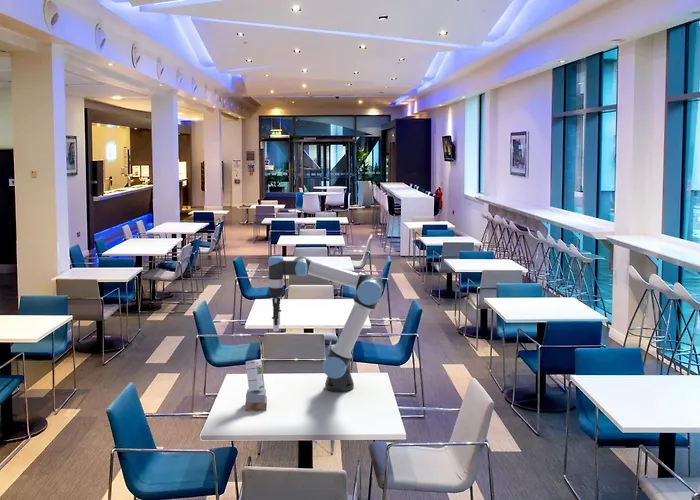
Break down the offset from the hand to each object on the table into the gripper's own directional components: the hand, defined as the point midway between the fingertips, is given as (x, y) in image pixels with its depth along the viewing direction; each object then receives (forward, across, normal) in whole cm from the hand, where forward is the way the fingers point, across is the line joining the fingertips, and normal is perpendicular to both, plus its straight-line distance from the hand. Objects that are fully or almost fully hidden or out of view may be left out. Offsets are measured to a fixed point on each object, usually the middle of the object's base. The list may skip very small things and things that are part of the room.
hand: (276, 327), depth 380 cm
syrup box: (+26, +19, -9) cm, 34 cm away
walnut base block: (+35, +19, -10) cm, 41 cm away
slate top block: (+31, +19, -10) cm, 38 cm away
